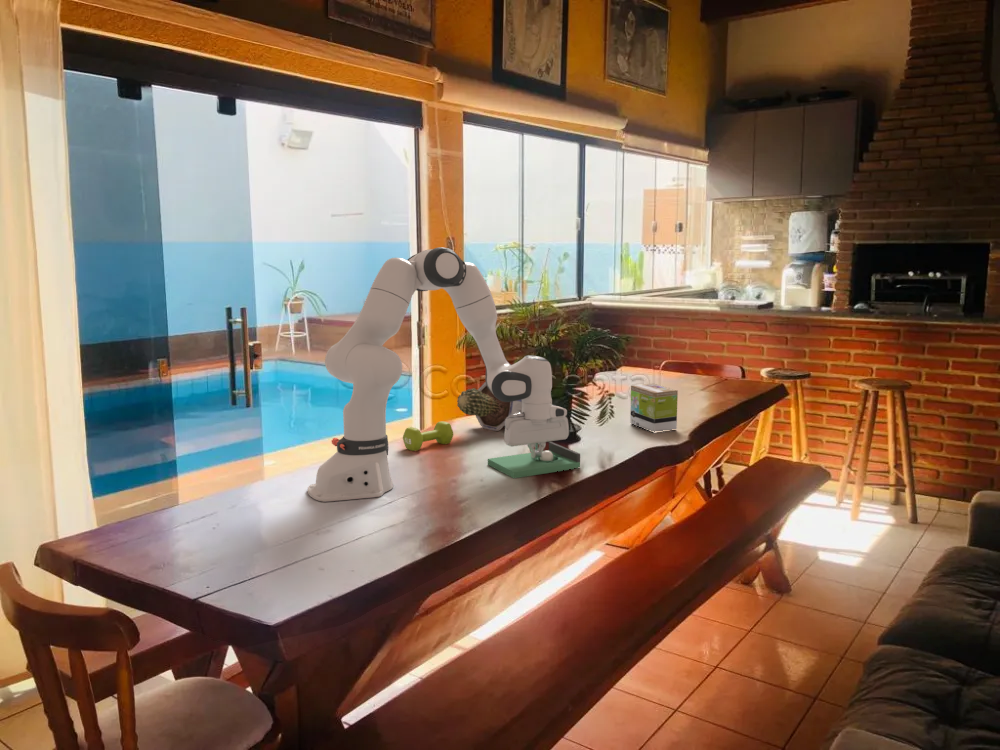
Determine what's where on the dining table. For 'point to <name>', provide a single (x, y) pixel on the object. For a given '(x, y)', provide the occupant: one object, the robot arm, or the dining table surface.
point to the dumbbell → (427, 436)
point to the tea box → (654, 407)
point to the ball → (546, 456)
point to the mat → (536, 462)
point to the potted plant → (487, 407)
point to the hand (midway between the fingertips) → (536, 457)
